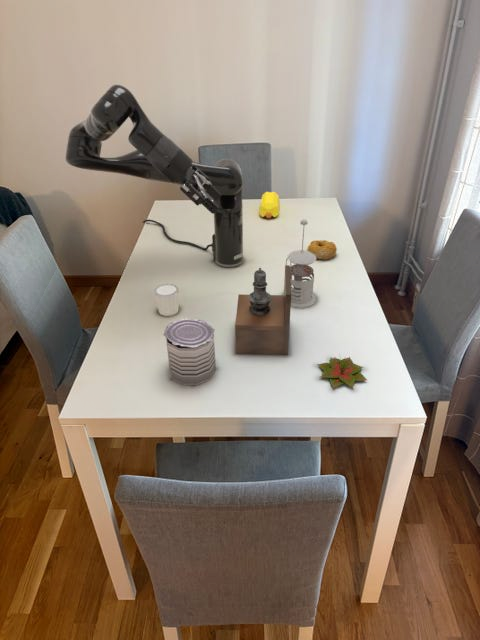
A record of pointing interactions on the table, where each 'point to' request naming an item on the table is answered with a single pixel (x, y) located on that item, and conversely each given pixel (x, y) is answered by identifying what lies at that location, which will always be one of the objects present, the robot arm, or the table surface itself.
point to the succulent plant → (341, 371)
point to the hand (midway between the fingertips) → (217, 204)
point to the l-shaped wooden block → (264, 324)
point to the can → (190, 351)
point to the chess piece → (259, 294)
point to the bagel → (322, 249)
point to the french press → (302, 289)
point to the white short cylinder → (167, 299)
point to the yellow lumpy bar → (269, 205)
